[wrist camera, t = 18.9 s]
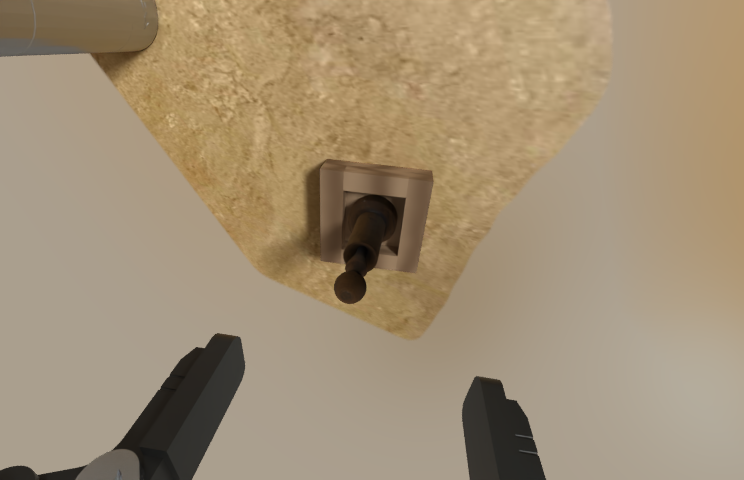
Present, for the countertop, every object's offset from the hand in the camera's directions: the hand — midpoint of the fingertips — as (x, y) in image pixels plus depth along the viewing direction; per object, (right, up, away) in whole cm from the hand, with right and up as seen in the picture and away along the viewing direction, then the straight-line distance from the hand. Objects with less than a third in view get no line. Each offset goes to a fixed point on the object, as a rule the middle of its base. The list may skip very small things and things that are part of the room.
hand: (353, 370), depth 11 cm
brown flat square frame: (+1, +9, +36) cm, 37 cm away
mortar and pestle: (+1, +8, +34) cm, 35 cm away
